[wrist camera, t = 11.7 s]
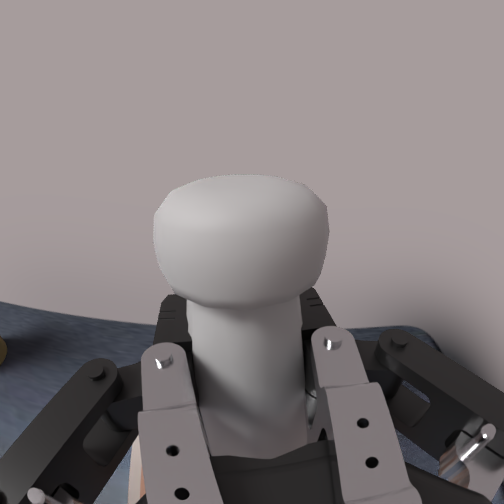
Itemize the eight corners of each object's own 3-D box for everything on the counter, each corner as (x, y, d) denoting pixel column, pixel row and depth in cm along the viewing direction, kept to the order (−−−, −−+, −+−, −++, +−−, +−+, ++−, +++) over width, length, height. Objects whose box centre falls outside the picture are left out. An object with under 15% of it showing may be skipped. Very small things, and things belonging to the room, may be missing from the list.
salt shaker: (310, 410, 14) (343, 167, 9) (307, 500, 9) (410, 226, 4) (209, 402, 15) (172, 167, 10) (184, 486, 10) (60, 222, 4)
